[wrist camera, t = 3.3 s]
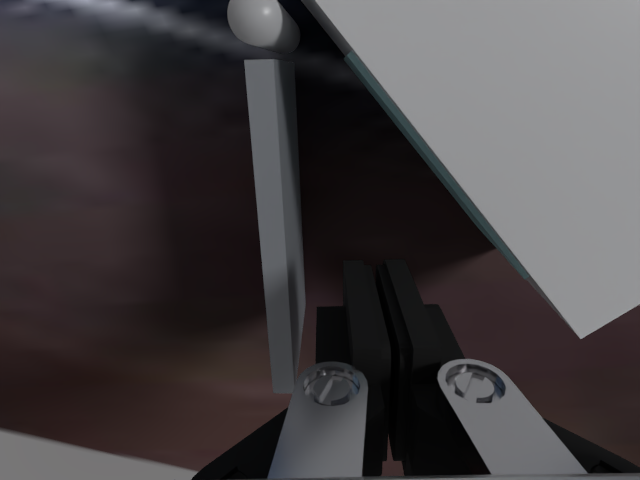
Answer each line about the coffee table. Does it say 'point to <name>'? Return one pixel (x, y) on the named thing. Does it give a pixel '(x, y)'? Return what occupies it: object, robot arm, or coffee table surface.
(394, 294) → the robot arm
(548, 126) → the camera body
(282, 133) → the side door
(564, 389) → the coffee table surface
